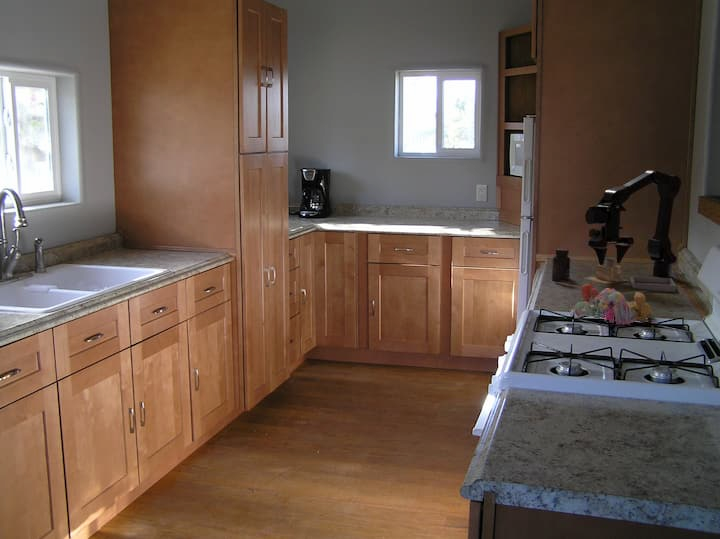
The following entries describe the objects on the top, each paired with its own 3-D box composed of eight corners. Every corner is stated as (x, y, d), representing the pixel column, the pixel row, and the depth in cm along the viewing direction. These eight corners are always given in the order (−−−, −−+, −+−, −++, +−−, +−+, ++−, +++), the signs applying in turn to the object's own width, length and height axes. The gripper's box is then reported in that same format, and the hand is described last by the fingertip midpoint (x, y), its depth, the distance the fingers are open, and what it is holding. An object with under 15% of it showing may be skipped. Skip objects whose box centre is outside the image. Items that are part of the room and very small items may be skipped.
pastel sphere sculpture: (652, 311, 250) (654, 283, 248) (657, 329, 228) (659, 298, 226) (570, 306, 257) (572, 278, 255) (568, 322, 235) (570, 292, 233)
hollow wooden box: (608, 276, 303) (608, 263, 302) (625, 280, 296) (626, 267, 295) (596, 278, 300) (597, 265, 299) (613, 281, 293) (614, 268, 292)
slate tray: (630, 282, 295) (631, 276, 295) (671, 285, 291) (671, 278, 291) (632, 290, 282) (633, 283, 281) (675, 292, 278) (675, 285, 277)
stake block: (603, 277, 306) (605, 255, 304) (628, 282, 296) (629, 260, 294) (581, 280, 300) (582, 257, 298) (605, 285, 290) (607, 262, 288)
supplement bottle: (571, 282, 295) (573, 251, 293) (553, 282, 295) (555, 250, 293) (567, 279, 302) (569, 248, 300) (549, 278, 302) (551, 248, 300)
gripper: (612, 219, 307) (610, 259, 309) (578, 222, 297) (576, 263, 300) (635, 222, 297) (633, 263, 300) (601, 225, 288) (598, 267, 291)
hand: (609, 264), depth 298 cm, fingers open, 9 cm apart
